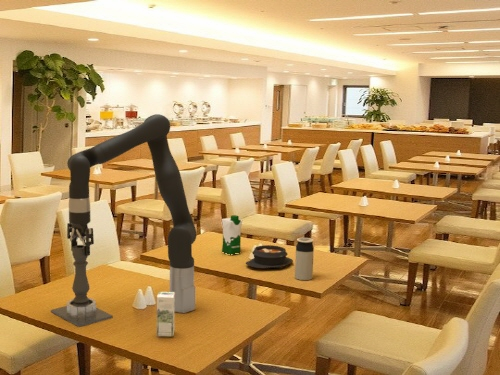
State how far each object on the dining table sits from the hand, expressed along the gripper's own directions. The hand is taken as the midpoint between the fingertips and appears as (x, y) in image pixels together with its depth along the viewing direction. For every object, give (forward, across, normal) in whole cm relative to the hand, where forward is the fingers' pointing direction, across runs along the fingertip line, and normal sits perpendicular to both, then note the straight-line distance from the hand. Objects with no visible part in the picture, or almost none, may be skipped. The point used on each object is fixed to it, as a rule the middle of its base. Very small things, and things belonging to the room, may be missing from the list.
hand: (80, 253), depth 231 cm
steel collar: (+24, 0, 0) cm, 24 cm away
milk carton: (+24, +28, -103) cm, 109 cm away
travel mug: (+24, -24, -99) cm, 105 cm away
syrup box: (+24, -35, -12) cm, 44 cm away
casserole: (+24, 0, -102) cm, 105 cm away
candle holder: (+23, +1, 0) cm, 23 cm away
